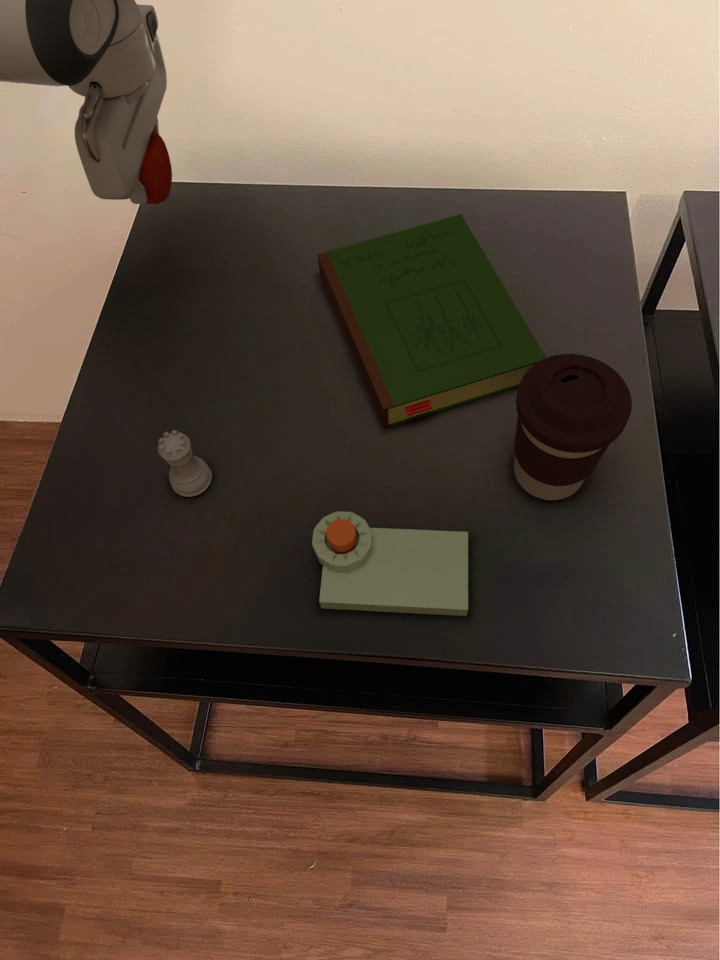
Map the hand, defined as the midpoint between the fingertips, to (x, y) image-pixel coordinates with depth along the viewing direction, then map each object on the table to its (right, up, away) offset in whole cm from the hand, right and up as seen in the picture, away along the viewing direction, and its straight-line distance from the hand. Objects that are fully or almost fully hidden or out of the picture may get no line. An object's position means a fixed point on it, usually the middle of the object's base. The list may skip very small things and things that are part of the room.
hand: (148, 177), depth 81 cm
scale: (+28, -44, -11) cm, 53 cm away
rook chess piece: (+6, -34, -4) cm, 35 cm away
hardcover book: (+32, -16, +4) cm, 36 cm away
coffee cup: (+44, -34, -6) cm, 56 cm away
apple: (0, -1, +2) cm, 3 cm away
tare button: (+22, -40, -12) cm, 47 cm away
